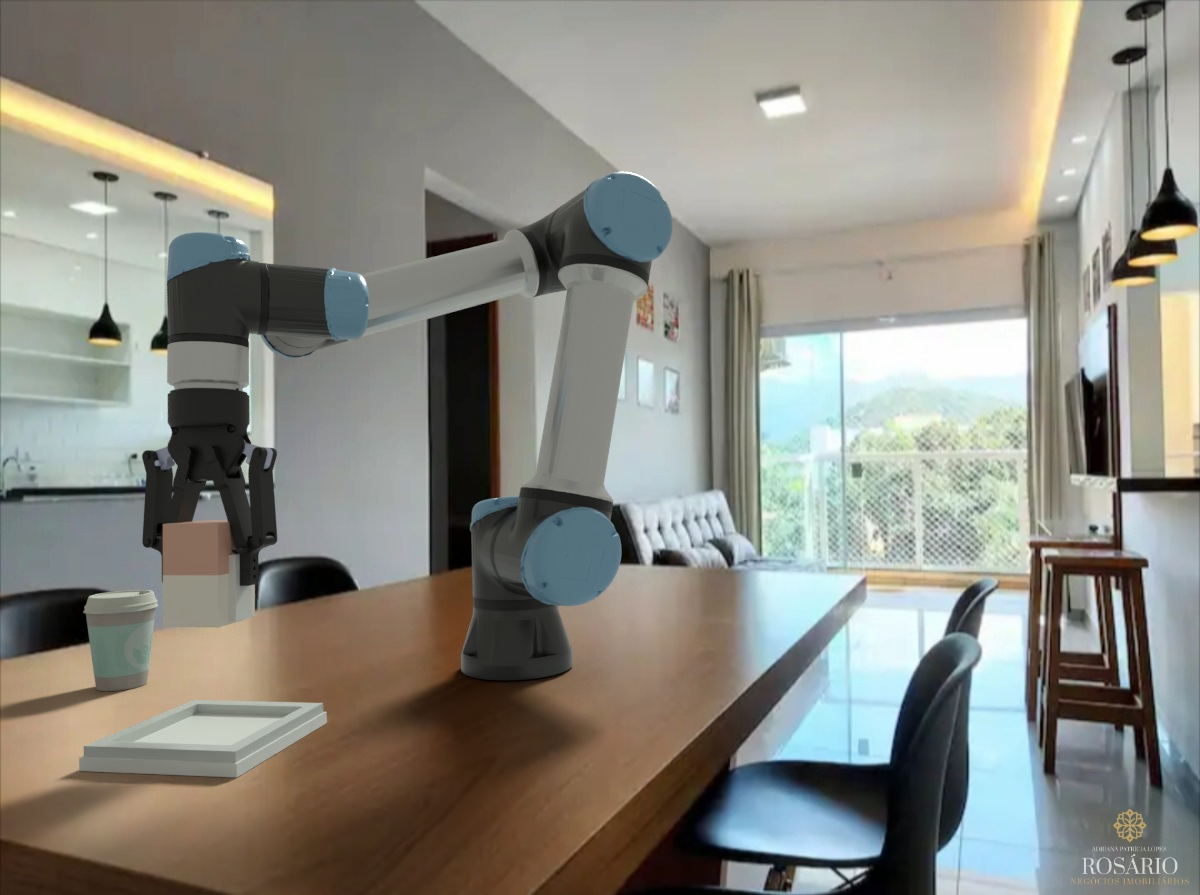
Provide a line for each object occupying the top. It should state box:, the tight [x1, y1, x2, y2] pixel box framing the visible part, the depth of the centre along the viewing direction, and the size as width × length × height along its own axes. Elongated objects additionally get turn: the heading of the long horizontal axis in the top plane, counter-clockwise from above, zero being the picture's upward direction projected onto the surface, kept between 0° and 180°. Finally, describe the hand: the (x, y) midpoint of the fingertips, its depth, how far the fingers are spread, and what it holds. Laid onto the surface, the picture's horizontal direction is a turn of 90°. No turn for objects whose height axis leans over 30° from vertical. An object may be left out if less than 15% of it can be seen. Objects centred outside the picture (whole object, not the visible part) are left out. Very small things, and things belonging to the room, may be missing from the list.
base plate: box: [78, 699, 328, 778], centre depth 82 cm, size 16×16×2 cm
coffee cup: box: [82, 589, 159, 692], centre depth 108 cm, size 8×8×12 cm
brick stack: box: [162, 519, 256, 628], centre depth 82 cm, size 6×6×10 cm
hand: (210, 618), depth 82 cm, fingers closed on brick stack, 6 cm apart
